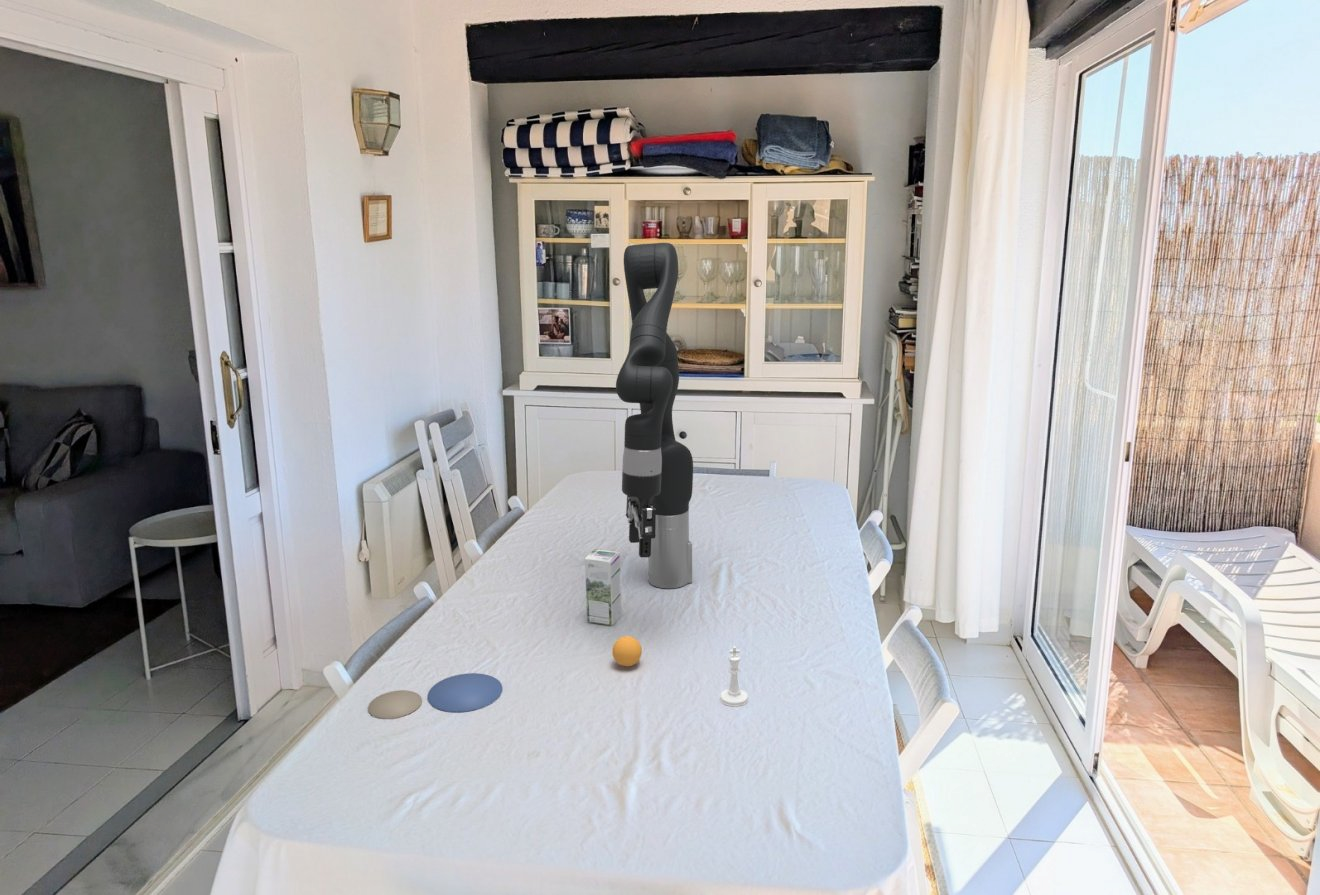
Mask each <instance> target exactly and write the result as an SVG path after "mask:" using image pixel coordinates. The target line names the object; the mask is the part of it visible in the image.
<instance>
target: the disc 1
mask: <svg viewBox="0 0 1320 895" xmlns="http://www.w3.org/2000/svg"><path fill="white" fill-rule="evenodd" d="M422 703H423V698H422V696H421V695H420V694H419V693H417V692H415V691H412V690H407V689H405V690H403V689H401V690H392V691H389V692H388V691H387V692H384V693H382V694H380V695H378V696H376V697H375V698H373V699H372V700H371V701H370V702H369V703H368V706H367V711H368V713H369V715H371V716H372V717H374V718H377V719H381V720H382V719H383V720H393V719H395V720H396V719H399V718H400V719H401V718H403V717H404V718H405V717H406V716H408V715H411V714H412V713H414V712H416V711H417V710H419V708H420V707H421V705H422Z"/></svg>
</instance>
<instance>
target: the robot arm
mask: <svg viewBox="0 0 1320 895" xmlns="http://www.w3.org/2000/svg"><path fill="white" fill-rule="evenodd" d="M678 257H679V256H678V253H677V250H676V248H675V246H674V245H673V244H672V243H670V242H656V243H655V242H654V243H642V244H641V243H640V244H631V245H628V246H626V247H625V249H624V253H623V271H624V279H625V285H626V291H627V296H628V302H629V303H628V304H629V311H630V317H631V328H630V334H629V336H630V338H629V346H628V353H627V354H626V355H627V356H626V358H625V360H624V361H623V363H622V366H621V367H620V369H619V372H618V374H617V377H616V381H615V392H616V395H617V397H618V398H619V399H620V400H621V401H622V402H624V403H626V404H627V403H629V404H639V408H640V410H639V411H640V413H637V414H632V415H630V416H628V417H627V418H626V419H625V422H624V441H623V442H624V443H623V444H624V446H623V454H622V465H621V466H622V469H621V470H622V472H621V473H622V474H621V475H622V476H621V492H622V494H624V495H625V496H626V508H625V510H626V512H625V517H626V518H627V523H628V525H629V526H628V541H629V542H630V543H631V544H634V543H638V556H639V557H640V558H647V560H648V563H647V564H648V572H647V573H648V582H649V584H650V585H652V586H654V587H656V588H660V589H677V588H682V587H684V586H686V585H688V584H691V583H693V543H692V542H691V541H690V510H689V509H690V502H691V499H692V496H693V485H694V460H693V455H692V453H691V450H690V448H688V447H687V446H686V445H684V444H683V443H681V442H679V441H677V440H676V436H675V432H674V431H675V430H674V424H673V407H674V403H675V400H676V396H677V393H678V389H679V384H680V368H679V357H678V355H679V354H678V350H677V346H676V344H675V342H674V341H673V339H672V338H671V337H670V335H669V334H668V333H667V330H668V323H669V317H670V314H671V311H672V305H673V302H674V298H675V293H676V288H677V284H678V279H679V259H678ZM651 289H656V291H654V294H653V295H652V296H651V298H650V299H649V300H648V301H647V299H646V298H647V297H646V296H645V291H644V290H651ZM646 528H647V531H646Z"/></svg>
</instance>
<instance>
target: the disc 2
mask: <svg viewBox="0 0 1320 895" xmlns="http://www.w3.org/2000/svg"><path fill="white" fill-rule="evenodd" d="M502 693H503V685H502V682H500V680H499V679H498V678H496V677H495V676H492V675H488V674H484V673H478V672H477V673H476V672H473V673H471V672H468V673H461V674H456V675H452V676H449V677H446V678H444V679H442V680H440V681H438V682H437V683H435V684H434V685H432V687H431V688H430V689H429V690H428V693H427V702H428V704H430V705H431V707H432V708H435V709H437V710H439V711H442V712H448V713H467V712H473V711H477V710H481V709H483V708H486V707H488V706H490V705H491V704H493V703H495V702H496V701H497V700H498V699H499V697H501V695H502Z"/></svg>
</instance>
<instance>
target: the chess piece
mask: <svg viewBox="0 0 1320 895" xmlns="http://www.w3.org/2000/svg"><path fill="white" fill-rule="evenodd" d="M729 654H730V655H729V656H728V661H729V664H730V666H729V667H728V669H727V671H728V673H730V674H731V676H730V682H729V687H728V688H726V689H724V690H723V691H721V692H720V696H719V701H720V702H721V703H722V704H723V705H726V706H728V707H736V708H737V707H742V706H744V705H746V704H747V703H748V702H749V695H748V693H747V692H746V691H745V690H743V689H741V688H740V686H739V679H738V677H739V676H738V674H739V673H741V672H742V671H741V668H740V667H739V663H740V661H741V656H740V655H738V654H740V649H737V647H736V646H735V645H733V646H732V649H729Z"/></svg>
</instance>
